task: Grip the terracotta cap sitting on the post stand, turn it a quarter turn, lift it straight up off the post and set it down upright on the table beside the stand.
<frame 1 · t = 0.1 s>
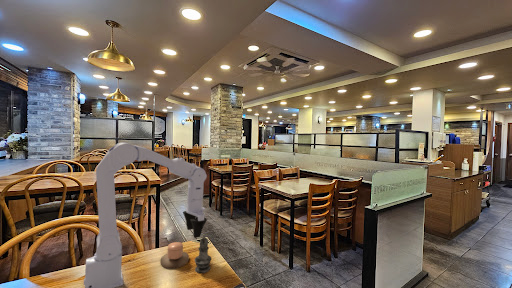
hand: (193, 233, 84), 10 cm above the table, tool pointing down, fingers open, 7 cm apart
post stand: (174, 260, 82), on the table
cap: (175, 255, 82), point 2 cm above the table, touching post stand
dark grey chess piece: (202, 269, 78), on the table
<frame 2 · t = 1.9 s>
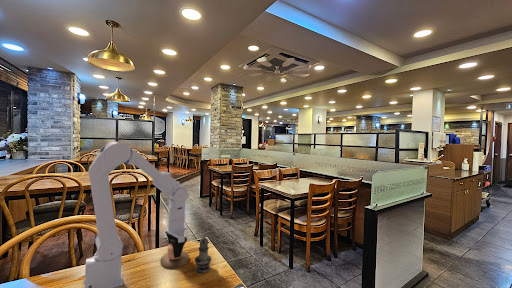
hand: (175, 253, 82), 3 cm above the table, tool pointing down, fingers closed on cap, 5 cm apart
cap: (175, 255, 82), point 2 cm above the table, touching gripper, post stand
everything else where it was.
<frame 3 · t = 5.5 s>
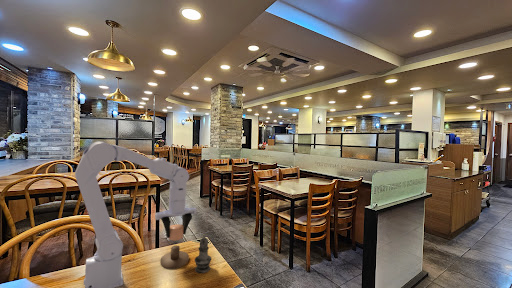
hand: (175, 235, 82), 10 cm above the table, tool pointing down, fingers closed on cap, 5 cm apart
cap: (175, 237, 82), point 9 cm above the table, touching gripper
everything else where it was.
when the fingers open (2 cm above the table, at t = 9.1 s): cap drops 1 cm, on the table.
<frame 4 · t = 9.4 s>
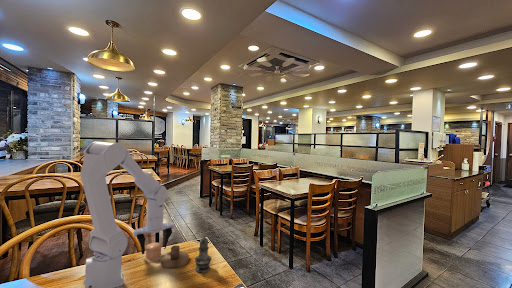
hand: (153, 250, 85), 2 cm above the table, tool pointing down, fingers open, 7 cm apart
cap: (153, 255, 85), on the table
everything else where it was.
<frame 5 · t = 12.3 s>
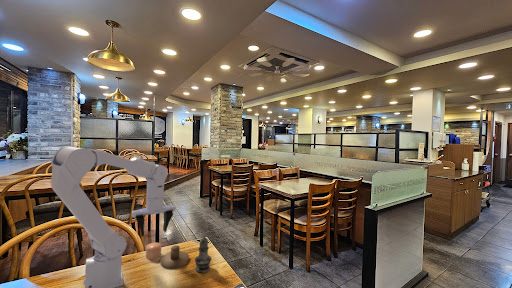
hand: (153, 232, 81), 10 cm above the table, tool pointing down, fingers open, 7 cm apart
nothing on the table moved.
at the end: cap inside the target area (0.0 cm from its centre), on the table; cap tilted 0°; cap touching table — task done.
